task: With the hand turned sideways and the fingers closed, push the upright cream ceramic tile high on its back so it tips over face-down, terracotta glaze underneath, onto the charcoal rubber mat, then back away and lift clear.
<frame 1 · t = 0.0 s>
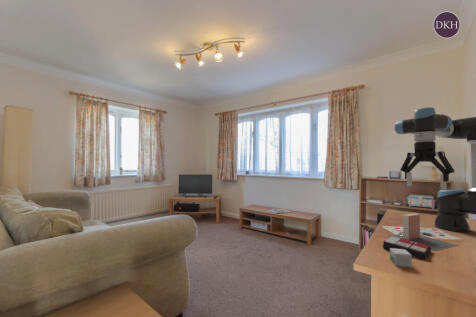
hand: (425, 187, 101), 28 cm above the table, tool pointing down, fingers open, 13 cm apart
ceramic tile: (411, 237, 112), resting on tile mat
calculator: (406, 252, 98), on the table
tile mat: (421, 241, 108), on the table
small box: (400, 264, 85), on the table
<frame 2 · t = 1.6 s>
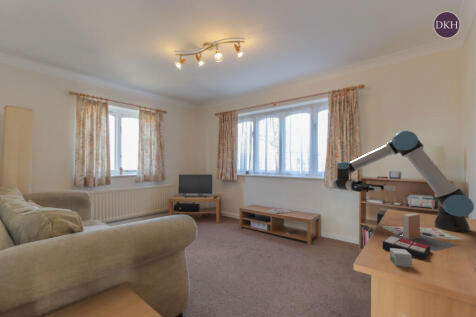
hand: (387, 189, 124), 24 cm above the table, tool horizontal, fingers open, 12 cm apart
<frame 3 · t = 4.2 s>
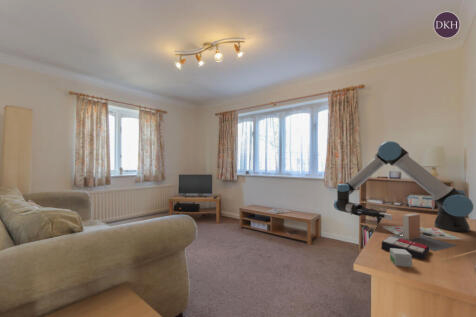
hand: (391, 217, 122), 9 cm above the table, tool horizontal, fingers closed
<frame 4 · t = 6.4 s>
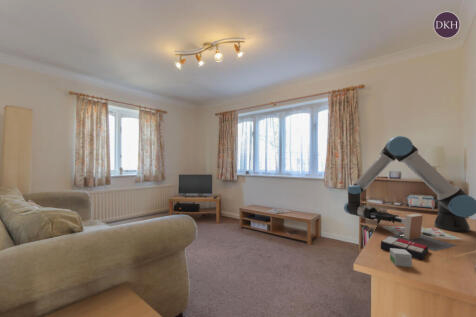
hand: (408, 222, 113), 8 cm above the table, tool horizontal, fingers closed
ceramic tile: (411, 237, 112), point 1 cm above the table, tilted 7°, touching gripper, tile mat
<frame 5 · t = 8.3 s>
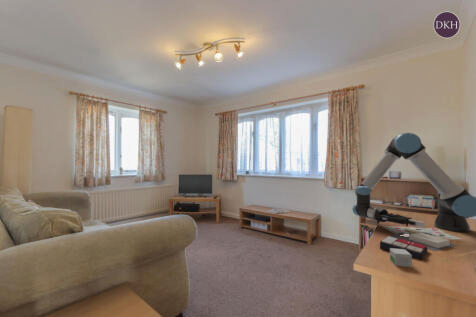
hand: (423, 225, 107), 8 cm above the table, tool horizontal, fingers closed
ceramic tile: (414, 235, 111), point 2 cm above the table, tilted 90°, touching tile mat
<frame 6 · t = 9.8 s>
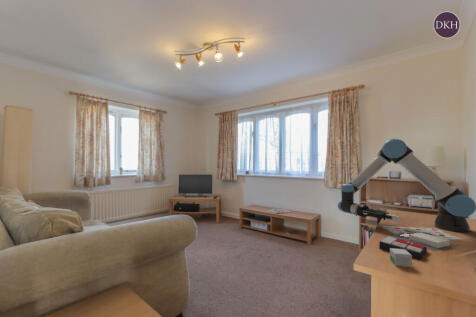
hand: (398, 219, 118), 9 cm above the table, tool horizontal, fingers closed
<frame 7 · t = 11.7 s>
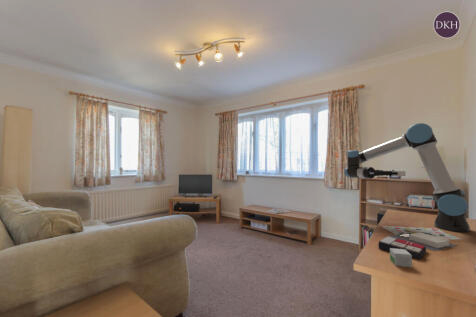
hand: (404, 173, 124), 33 cm above the table, tool horizontal, fingers closed
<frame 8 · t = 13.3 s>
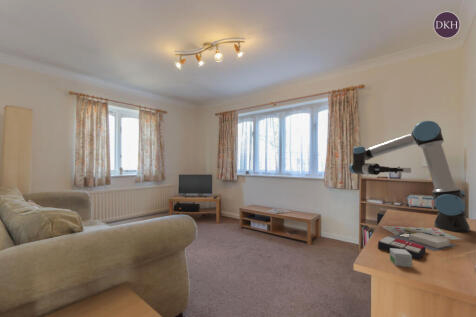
hand: (410, 170, 124), 35 cm above the table, tool horizontal, fingers closed
at the end: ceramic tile tilted 90°; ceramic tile inside the target area (3.8 cm from its centre), point 1.9 cm above the table; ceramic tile touching tile mat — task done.
